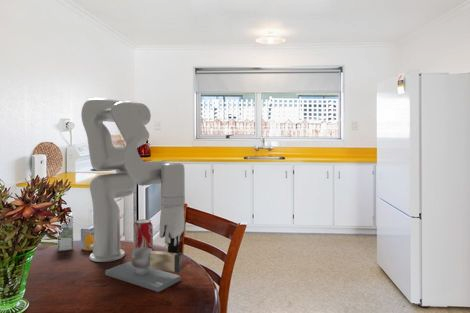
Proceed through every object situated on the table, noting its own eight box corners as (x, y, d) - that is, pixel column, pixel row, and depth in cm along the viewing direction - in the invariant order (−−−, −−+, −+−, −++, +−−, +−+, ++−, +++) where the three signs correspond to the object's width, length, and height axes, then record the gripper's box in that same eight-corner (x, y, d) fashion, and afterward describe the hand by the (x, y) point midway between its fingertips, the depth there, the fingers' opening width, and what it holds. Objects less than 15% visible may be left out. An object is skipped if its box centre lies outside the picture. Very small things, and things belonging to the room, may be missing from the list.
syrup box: (73, 245, 147) (72, 211, 146) (73, 250, 142) (72, 214, 141) (58, 247, 145) (57, 212, 144) (57, 252, 139) (56, 216, 139)
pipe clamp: (118, 247, 145) (118, 232, 145) (115, 250, 141) (115, 235, 141) (89, 246, 145) (89, 231, 145) (85, 250, 141) (85, 234, 141)
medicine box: (90, 250, 141) (90, 229, 141) (80, 249, 142) (80, 228, 142) (101, 244, 149) (101, 224, 148) (92, 243, 150) (92, 223, 149)
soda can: (148, 253, 138) (147, 223, 137) (131, 252, 140) (131, 222, 139) (155, 248, 145) (155, 219, 144) (139, 246, 146) (139, 218, 146)
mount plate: (105, 274, 117) (105, 262, 117) (128, 265, 125) (128, 253, 125) (158, 292, 104) (158, 277, 104) (180, 280, 113) (180, 267, 113)
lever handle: (127, 268, 113) (127, 252, 112) (139, 261, 119) (138, 246, 118) (176, 274, 107) (176, 258, 107) (185, 267, 113) (185, 251, 113)
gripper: (171, 196, 122) (172, 248, 123) (151, 204, 107) (152, 263, 108) (192, 197, 120) (192, 250, 121) (174, 206, 105) (175, 266, 106)
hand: (173, 256), depth 114 cm, fingers closed
